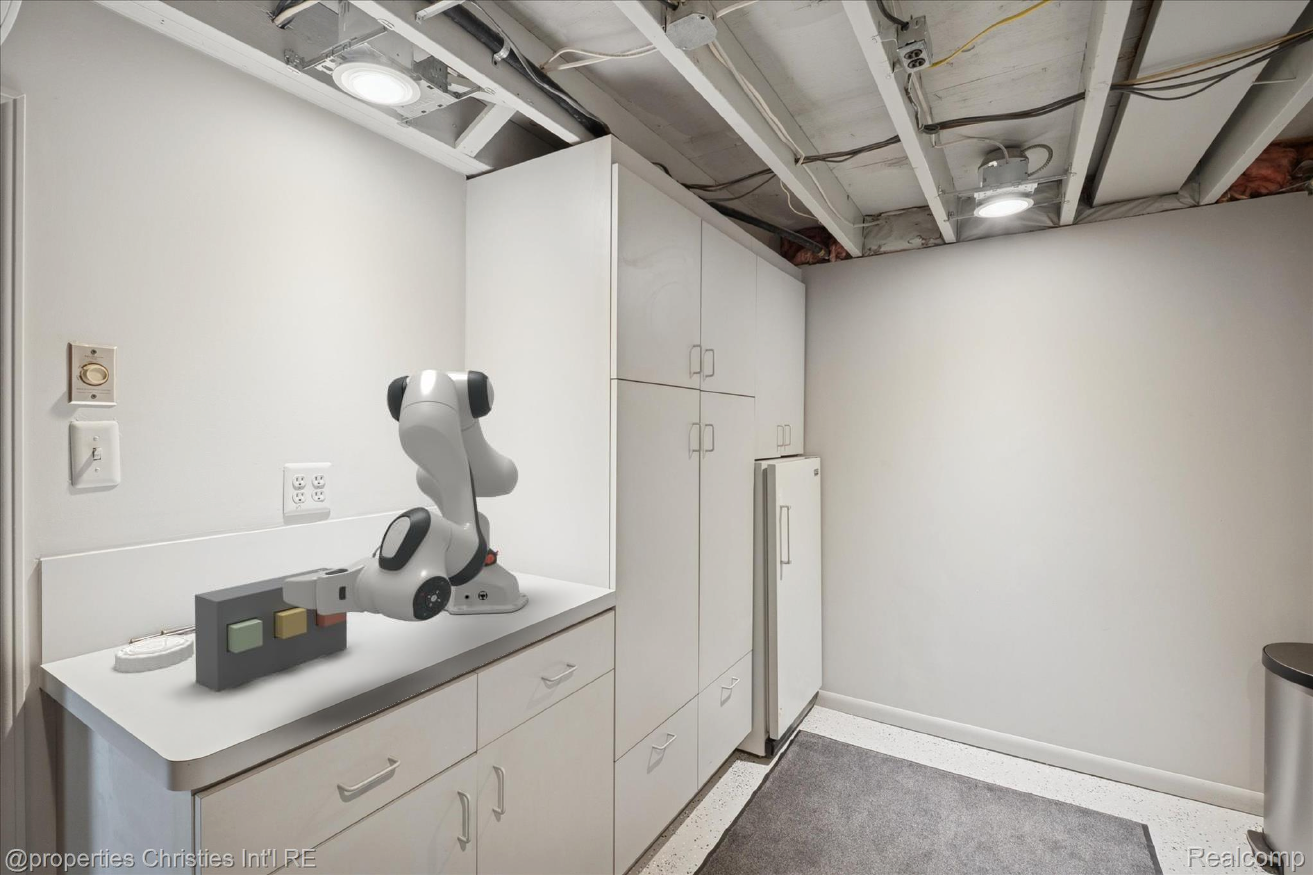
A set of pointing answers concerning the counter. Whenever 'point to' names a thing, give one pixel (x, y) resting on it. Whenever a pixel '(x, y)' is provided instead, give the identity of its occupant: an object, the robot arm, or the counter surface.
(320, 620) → the button brick
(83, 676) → the counter surface
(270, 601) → the console
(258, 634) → the button sage
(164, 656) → the mooncake
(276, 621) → the button ochre
